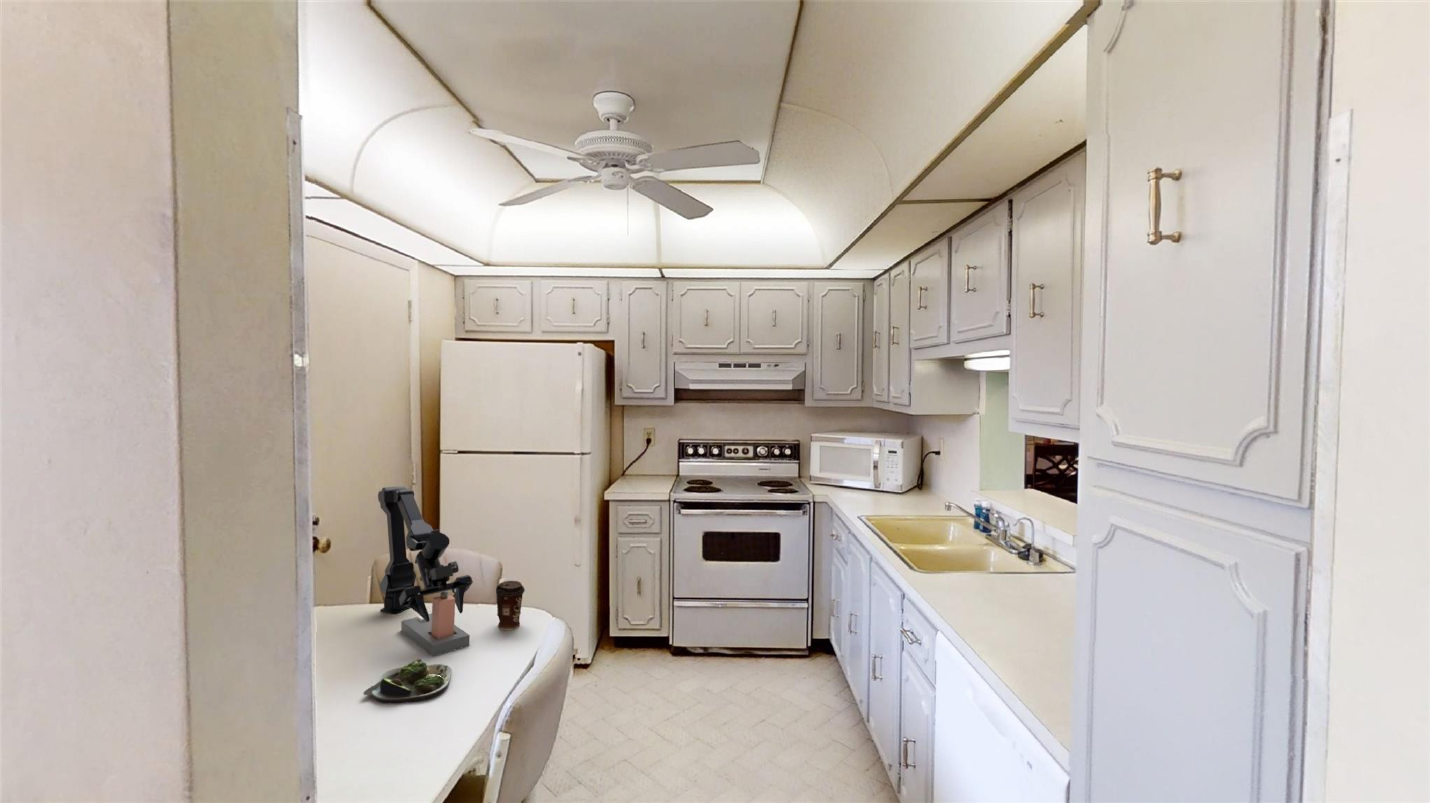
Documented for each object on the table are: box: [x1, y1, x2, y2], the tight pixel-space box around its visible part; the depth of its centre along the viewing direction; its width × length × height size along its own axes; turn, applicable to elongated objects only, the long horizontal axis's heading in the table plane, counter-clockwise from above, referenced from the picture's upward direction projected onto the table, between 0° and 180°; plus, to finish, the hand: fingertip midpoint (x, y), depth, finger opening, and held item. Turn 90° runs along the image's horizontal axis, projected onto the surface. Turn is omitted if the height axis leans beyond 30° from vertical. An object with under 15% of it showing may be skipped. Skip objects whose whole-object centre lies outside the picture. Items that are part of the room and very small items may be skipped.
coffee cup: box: [495, 580, 526, 631], centre depth 180 cm, size 9×8×13 cm
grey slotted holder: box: [400, 613, 471, 657], centre depth 169 cm, size 22×10×4 cm, turn 48°
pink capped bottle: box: [431, 591, 456, 640], centre depth 166 cm, size 4×4×14 cm
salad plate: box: [363, 658, 453, 704], centre depth 144 cm, size 19×18×5 cm
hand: (445, 616), depth 165 cm, fingers open, 9 cm apart
